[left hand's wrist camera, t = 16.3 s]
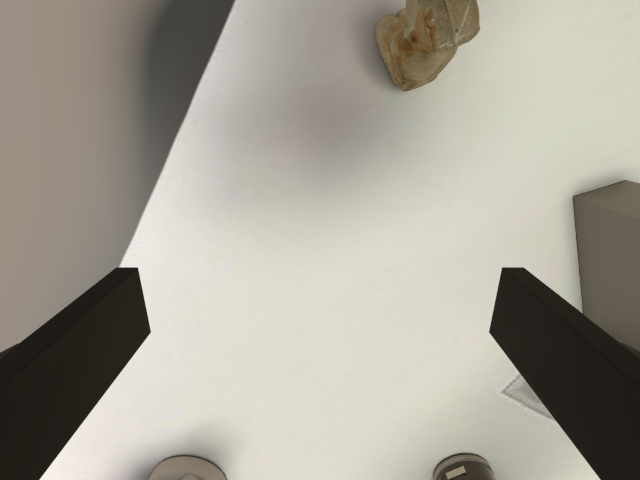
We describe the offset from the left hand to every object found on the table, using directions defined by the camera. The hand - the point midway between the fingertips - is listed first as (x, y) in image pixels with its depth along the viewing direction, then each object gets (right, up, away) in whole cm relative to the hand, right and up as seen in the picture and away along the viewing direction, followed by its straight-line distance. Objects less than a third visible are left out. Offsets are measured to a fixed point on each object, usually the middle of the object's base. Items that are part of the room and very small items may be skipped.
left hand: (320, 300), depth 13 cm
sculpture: (+8, +22, +23) cm, 33 cm away
